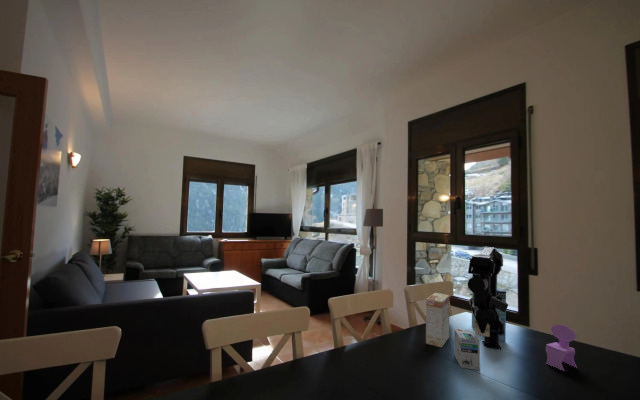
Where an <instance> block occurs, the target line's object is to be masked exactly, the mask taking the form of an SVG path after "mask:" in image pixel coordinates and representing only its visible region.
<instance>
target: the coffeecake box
mask: <svg viewBox="0 0 640 400" xmlns="http://www.w3.org/2000/svg"><path fill="white" fill-rule="evenodd" d="M425 304H426V306H425V310H426V311H425V314H426V315H425V317H426V318H425V344H426V345H430V346H434V347H438V348H443V346H444V345H445V343H447V340H449V338H450V294H444V293H440V292H434V293H432V294H431V295H429V297H427V298H426V299H425Z"/></svg>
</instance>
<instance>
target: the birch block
mask: <svg viewBox="0 0 640 400" xmlns="http://www.w3.org/2000/svg"><path fill="white" fill-rule="evenodd" d="M473 331H474V335H475V336H482V337H484V336H488V337H490V326H489V324H488V323H487V326H486V329H485V333H481V331H480V329H479V326H478V323H477V321H476V320H474V327H473Z"/></svg>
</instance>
